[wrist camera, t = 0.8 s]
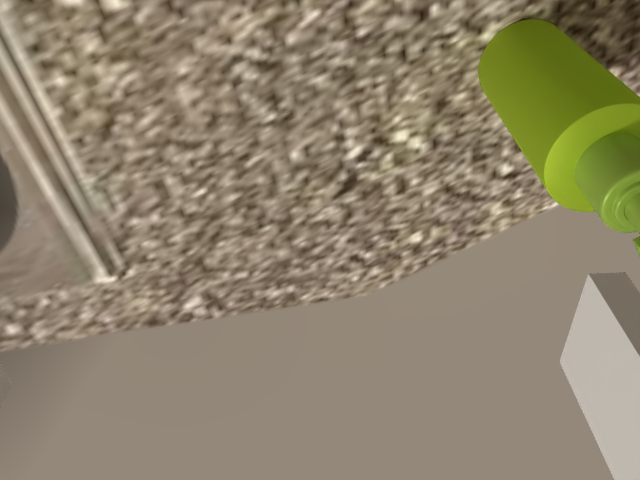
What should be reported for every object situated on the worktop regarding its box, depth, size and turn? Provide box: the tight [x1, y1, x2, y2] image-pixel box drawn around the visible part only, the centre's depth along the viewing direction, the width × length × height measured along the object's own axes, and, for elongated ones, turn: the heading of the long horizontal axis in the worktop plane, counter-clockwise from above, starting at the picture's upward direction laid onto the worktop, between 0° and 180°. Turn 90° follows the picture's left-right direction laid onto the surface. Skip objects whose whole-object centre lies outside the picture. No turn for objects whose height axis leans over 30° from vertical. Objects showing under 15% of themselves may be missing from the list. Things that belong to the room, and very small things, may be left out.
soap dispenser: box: [479, 19, 640, 257], centre depth 29 cm, size 6×7×20 cm
